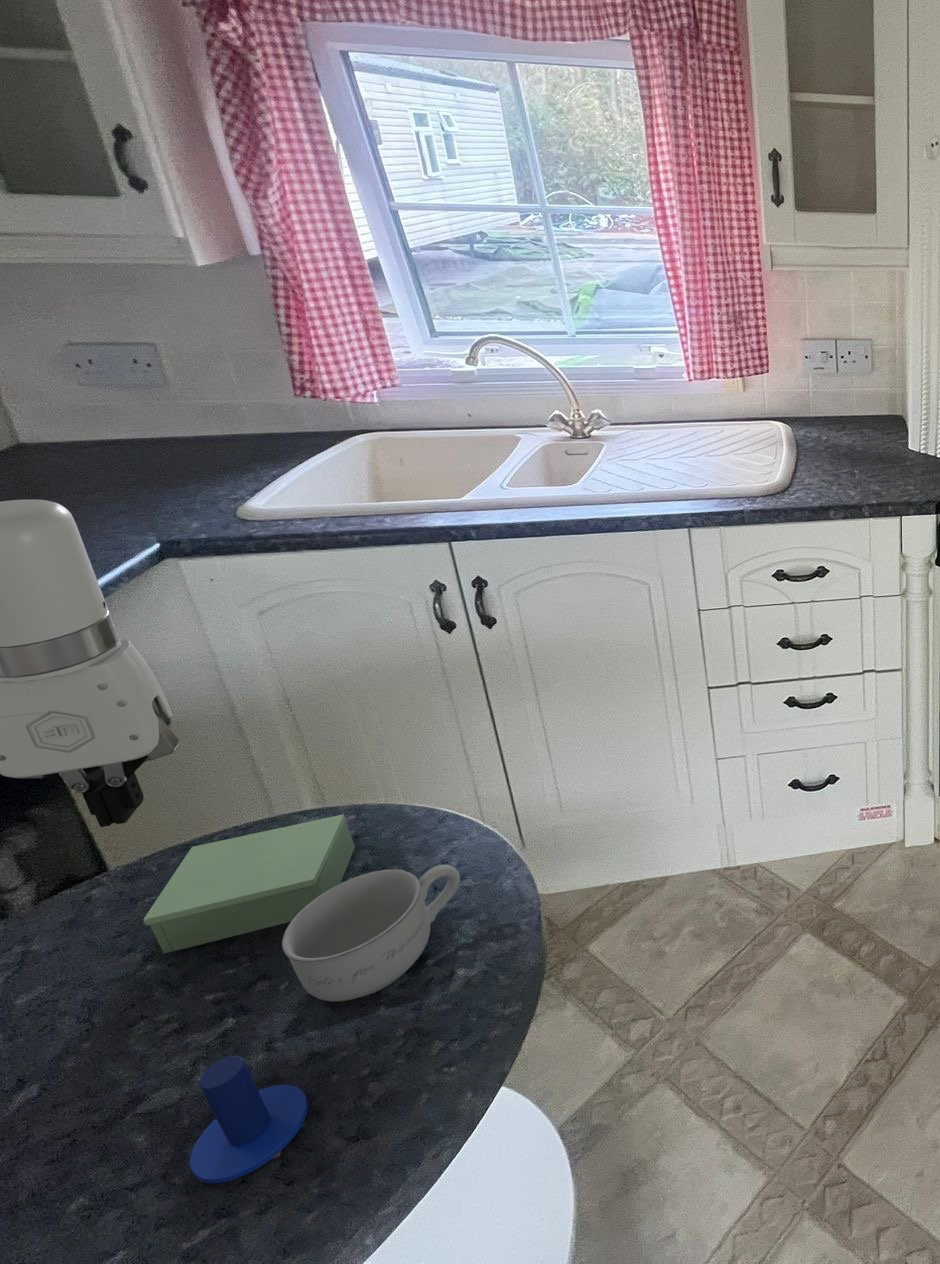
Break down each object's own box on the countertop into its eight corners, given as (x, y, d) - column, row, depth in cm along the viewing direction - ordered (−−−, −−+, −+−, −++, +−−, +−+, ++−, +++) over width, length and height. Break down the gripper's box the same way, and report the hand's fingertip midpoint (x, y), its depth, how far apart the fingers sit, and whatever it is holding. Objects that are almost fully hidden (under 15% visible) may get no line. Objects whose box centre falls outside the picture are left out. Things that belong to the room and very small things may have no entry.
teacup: (307, 1042, 75) (282, 981, 72) (302, 960, 83) (278, 902, 80) (483, 957, 84) (466, 899, 81) (463, 890, 92) (448, 834, 89)
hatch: (315, 885, 85) (313, 879, 85) (145, 926, 80) (142, 920, 80) (345, 819, 94) (344, 813, 94) (194, 852, 89) (191, 846, 89)
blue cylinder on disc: (174, 1200, 63) (138, 1136, 61) (214, 1108, 70) (183, 1047, 67) (291, 1160, 66) (261, 1097, 63) (320, 1075, 72) (294, 1015, 69)
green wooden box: (330, 916, 88) (318, 883, 86) (165, 958, 83) (149, 924, 81) (356, 850, 96) (345, 819, 94) (208, 885, 91) (194, 852, 89)
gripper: (-112, 683, 63) (-20, 866, 70) (146, 651, 69) (209, 822, 76) (-44, 636, 70) (35, 807, 76) (187, 610, 76) (242, 771, 82)
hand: (121, 814), depth 76 cm, fingers closed
